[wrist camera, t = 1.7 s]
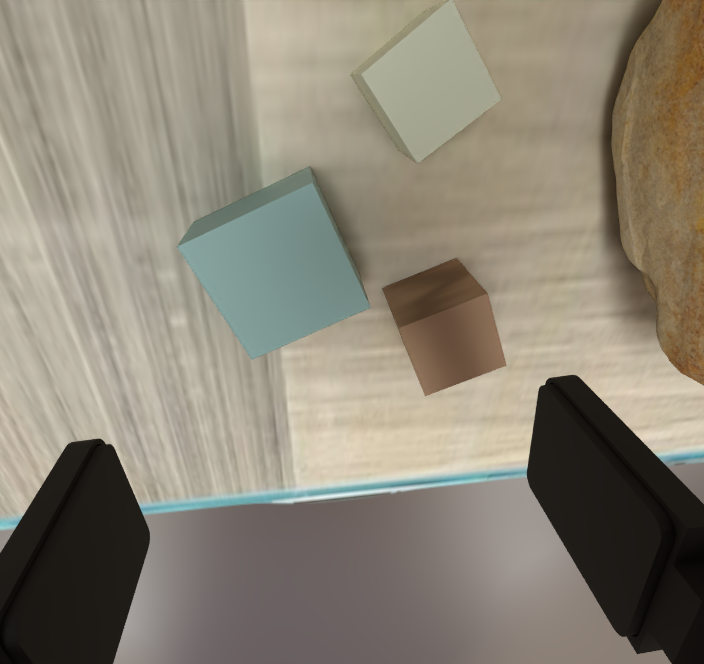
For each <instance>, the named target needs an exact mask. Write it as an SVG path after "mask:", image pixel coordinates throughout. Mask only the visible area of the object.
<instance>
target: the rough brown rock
mask: <svg viewBox="0 0 704 664" xmlns="http://www.w3.org/2000/svg"><path fill="white" fill-rule="evenodd" d="M611 148H612V155H613V161H614V170H615V175H616V189H617V203H618V210H619V223H620V238H621V242H622V246H623V249H624V251H625V253H626V255H627V257H628V259H629V261H630V262H631V263H632V264H633V265H634V266H636V267H637V268H638V269H639V270H640V271H641V272H642V276H643V281H644V284H645V286H646V289H647V290H648V292H649V293H650V295H651V296H652V297H653V299H654V300H655V302H656V309H657V321H656V332H657V337H658V340H659V343H660V347H661V349H662V350H663V352H664V353H665V354H666V355H667V357H668V359H669V361H670V362H671V363H672V364H673V365H674V366H675V367H676V368H677V369H678V370H679V371H680V372H681V373H682V374H684V375H686V376H688V377H690V378H692V379H693V380H695V381H697V382H699V383H700V384H702V385H704V0H662V2H661V4H660V6H659V7H658V9H657V11H656V14H655V16H654V18H653V19H652V21H651V22H650V23H649V25H648V26H647V27H646V29H645V30H644V31H643V33H642V34H641V35H640V37H639V39H638V40H637V42H636V43H635V45H634V48H633V50H632V52H631V54H630V56H629V59H628V64H627V68H626V71H625V74H624V77H623V80H622V82H621V85H620V88H619V91H618V95H617V98H616V102H615V105H614V109H613V113H612V140H611Z"/></svg>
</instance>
